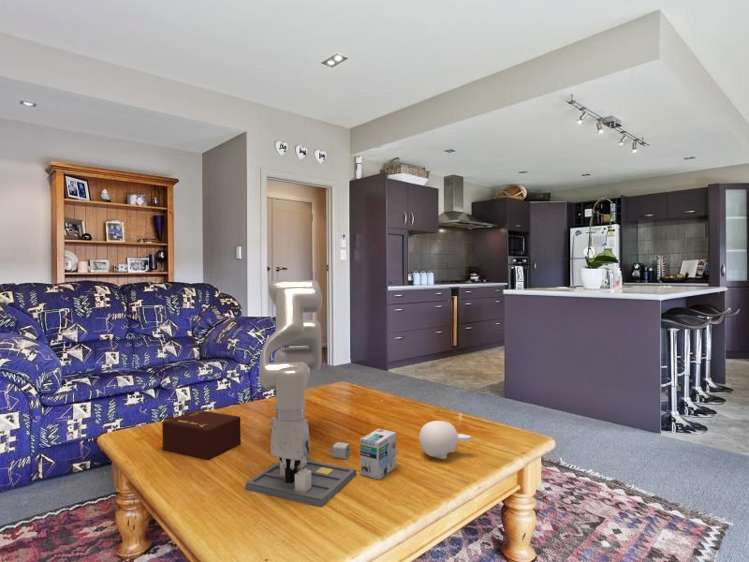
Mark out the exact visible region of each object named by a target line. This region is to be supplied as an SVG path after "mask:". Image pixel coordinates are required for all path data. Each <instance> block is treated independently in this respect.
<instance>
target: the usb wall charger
mask: <svg viewBox="0 0 749 562" xmlns="http://www.w3.org/2000/svg"><path fill="white" fill-rule="evenodd" d="M326 452H329V453H332V458H334V459H341V460H347V459H348V458H349V457H350V456H351V443H348V442H347V443H346V442H338V441H337V442H335V443H334V444H333V446H330V447H329V448H327V449H326Z"/></svg>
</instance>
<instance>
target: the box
mask: <svg viewBox="0 0 749 562" xmlns="http://www.w3.org/2000/svg"><path fill="white" fill-rule="evenodd" d="M161 429H162V451H163V450H165V451H164V452H167V451H169V452H168V453H172V452H173V454H176V453H177V454H178V455H182V456H186V457H191V458H194V459H195V458H196V459H198V460H199V459H200V460H205V461H210V460H213V459H215V458H216V457H219V456H221V455H223V454H225V453H227V452H228V451H231V450H232V449H235V448H236V447H238V446H241V443H242V442H241V441H242V437H241V436H242V433H241V431H242V430H241V416H237V415H230V414H225V413H219V412H213V411H212V412H211V411H205V410H199V409H195V410H192V411H190V412H187V413H183V414H180V415H178V416H174V417H173V418H170V419H167V420H163V422H162V428H161Z"/></svg>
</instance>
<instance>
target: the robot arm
mask: <svg viewBox="0 0 749 562" xmlns="http://www.w3.org/2000/svg"><path fill="white" fill-rule="evenodd" d="M268 295H269V297H270V300H271V301H272V303H273V304H274V306H275V331H274V332H273V333H272V334H271V335H270V336H269V337H268V338H267V340H266V341H265V343H264V344H263V346H262V348H261V351H260V355H259V369H258V378H259V379H258V380H259V384H260V386H261V387H262V389H263V390H264V389H265V390H269V391H270V390H271V391H273V390H276V391H275V392H276V394H275V399H276V405H275V407H274V408H273V413H275V414H276V417H272V416H271V418H270V421H269V425H271V426H272V427H271V435H270V453H271V455H272V456H273V457H274V458H276V459H278V460H279V461H281V462H282V464H283V467H284V468H285V482H286V483H289V484H292V483H293V482H294V481H295V474H296V473H297V472H298V469H297V466H299V464H300V463H307V462H308V461H310V457H309V455H310V452H311V442H310V441H311V439H310V429H309V423H308V419H307V418H306V417H305V416H306V413H305V412H306V411H305V407H306V405H305V404H306V403H305V401H306V399H305V398H306V397H305V388H306V387H307V385H308V383H309V382H310V381H311V373H314V372H318V371H320V369H321V367H322V363H323V362H322V360H323V359H322V356H323V355H322V353H323V352H322V347H323V346H322V344H323V343H322V342H323V341H322V340H323V336H322V327H321V326H322V325H321V324H320V322H319V321H318V320H316V319H304V314H309V313H310V314H312V313H313V314H315V313H319V312H320V311H321V310H322V307H323V306H322V305H323V295H322V290H321V287H320V284H319V282H318V281H317V280H311V279H309V280H307V279H305V280H297V279H293V280H292V279H291V280H289V279H287V280H286V279H285V280H284V279H283V280H274V281H272V282H270V283H269V285H268ZM275 351H276V352H275ZM273 353H275V354H274V356H273V361H274V362H270V358H271V355H272V354H273Z"/></svg>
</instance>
